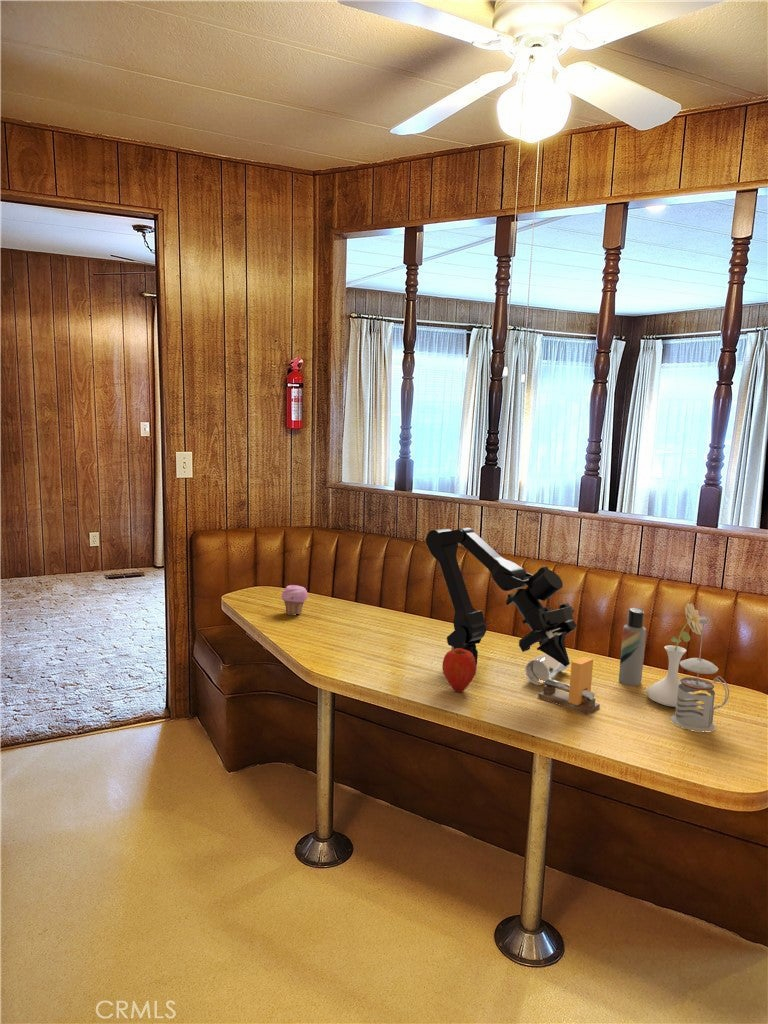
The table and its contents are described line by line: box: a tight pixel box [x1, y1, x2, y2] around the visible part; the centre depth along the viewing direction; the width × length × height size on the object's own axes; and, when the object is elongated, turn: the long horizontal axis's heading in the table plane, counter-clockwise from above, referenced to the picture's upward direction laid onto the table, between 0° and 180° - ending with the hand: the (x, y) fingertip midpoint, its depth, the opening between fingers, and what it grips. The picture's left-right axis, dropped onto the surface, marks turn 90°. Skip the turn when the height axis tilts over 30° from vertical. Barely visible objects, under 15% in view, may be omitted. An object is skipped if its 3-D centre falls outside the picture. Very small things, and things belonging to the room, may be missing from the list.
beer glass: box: [525, 653, 571, 686], centre depth 183 cm, size 7×7×15 cm
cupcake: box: [281, 584, 308, 616], centre depth 233 cm, size 9×9×10 cm
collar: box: [568, 656, 594, 705], centre depth 164 cm, size 2×6×10 cm, turn 135°
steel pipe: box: [545, 678, 595, 700], centre depth 167 cm, size 12×2×2 cm, turn 45°
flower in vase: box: [645, 602, 705, 708], centre depth 169 cm, size 13×11×25 cm
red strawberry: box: [441, 648, 477, 693], centre depth 171 cm, size 9×8×11 cm
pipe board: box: [537, 684, 601, 715], centre depth 168 cm, size 13×8×5 cm, turn 45°
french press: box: [669, 617, 730, 733], centre depth 156 cm, size 10×12×25 cm
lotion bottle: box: [618, 607, 647, 687], centre depth 182 cm, size 6×6×20 cm
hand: (567, 665), depth 167 cm, fingers closed
